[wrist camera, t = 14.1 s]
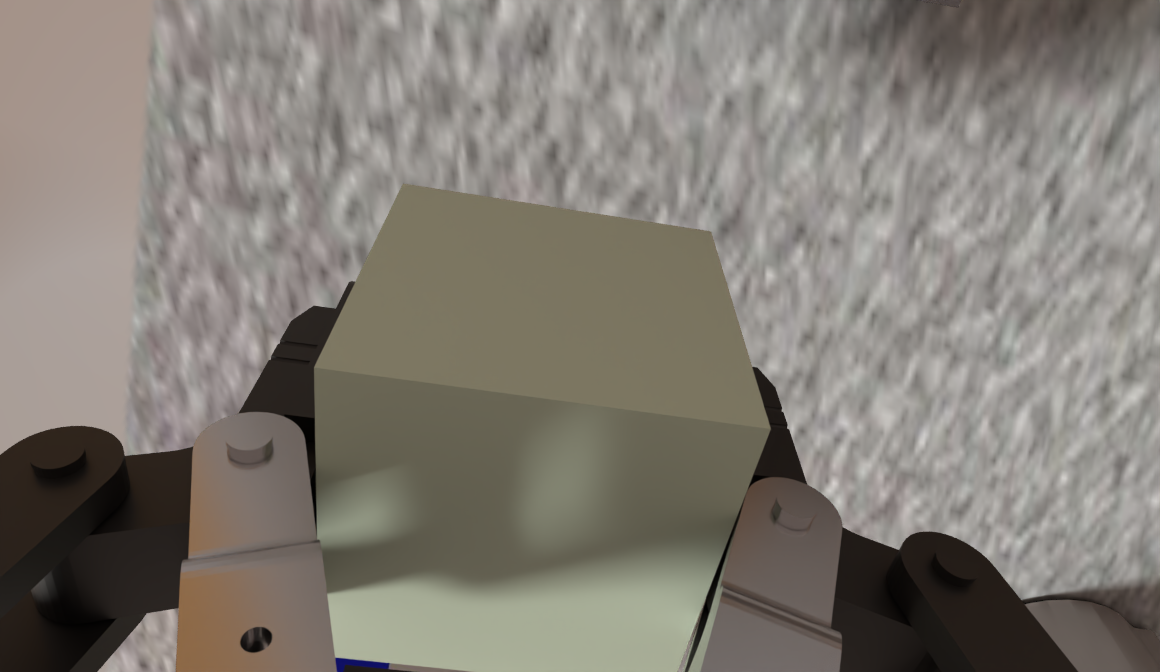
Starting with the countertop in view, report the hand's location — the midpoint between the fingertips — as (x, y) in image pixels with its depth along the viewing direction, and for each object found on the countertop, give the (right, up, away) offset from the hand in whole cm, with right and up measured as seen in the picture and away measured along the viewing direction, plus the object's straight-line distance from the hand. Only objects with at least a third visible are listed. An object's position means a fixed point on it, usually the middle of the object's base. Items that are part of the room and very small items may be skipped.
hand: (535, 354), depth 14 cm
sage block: (0, 0, 0) cm, 1 cm away
